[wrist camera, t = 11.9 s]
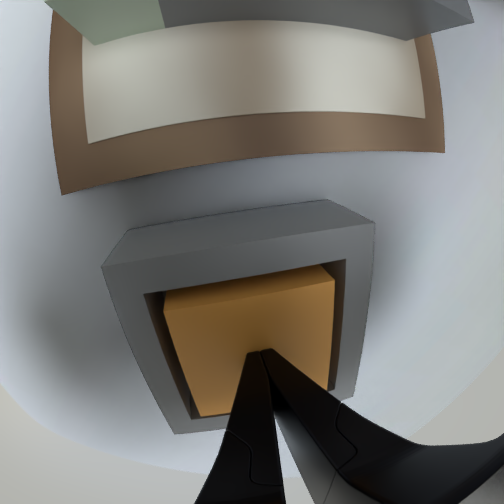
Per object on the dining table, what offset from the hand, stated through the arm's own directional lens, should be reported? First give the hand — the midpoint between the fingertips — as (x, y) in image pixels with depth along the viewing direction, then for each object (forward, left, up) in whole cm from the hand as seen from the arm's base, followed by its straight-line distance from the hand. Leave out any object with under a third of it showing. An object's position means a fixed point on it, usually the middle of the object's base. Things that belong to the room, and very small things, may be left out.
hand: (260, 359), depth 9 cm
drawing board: (-2, -13, -4) cm, 14 cm away
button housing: (0, 0, -4) cm, 4 cm away
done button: (0, 0, -3) cm, 3 cm away
